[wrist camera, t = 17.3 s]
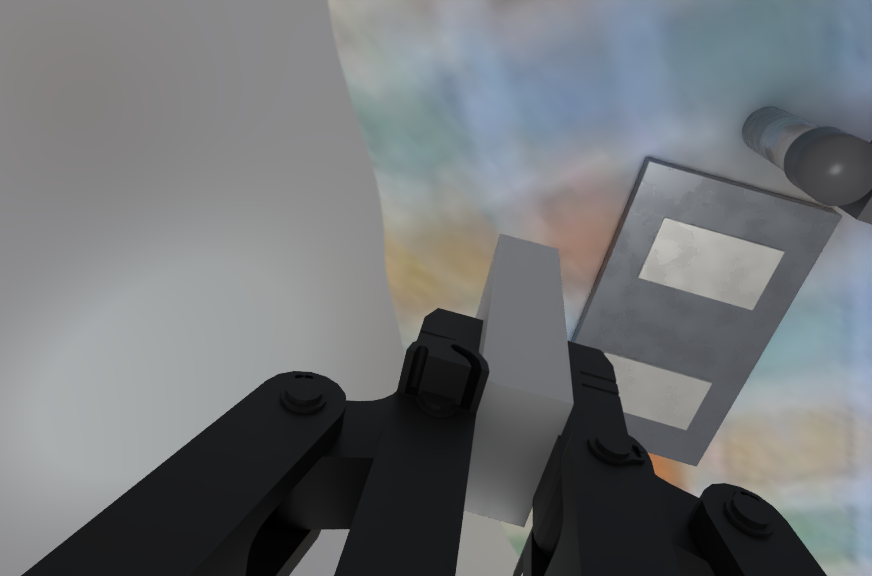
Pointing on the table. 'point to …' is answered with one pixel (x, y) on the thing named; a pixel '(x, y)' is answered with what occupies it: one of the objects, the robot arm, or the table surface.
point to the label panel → (699, 289)
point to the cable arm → (833, 170)
